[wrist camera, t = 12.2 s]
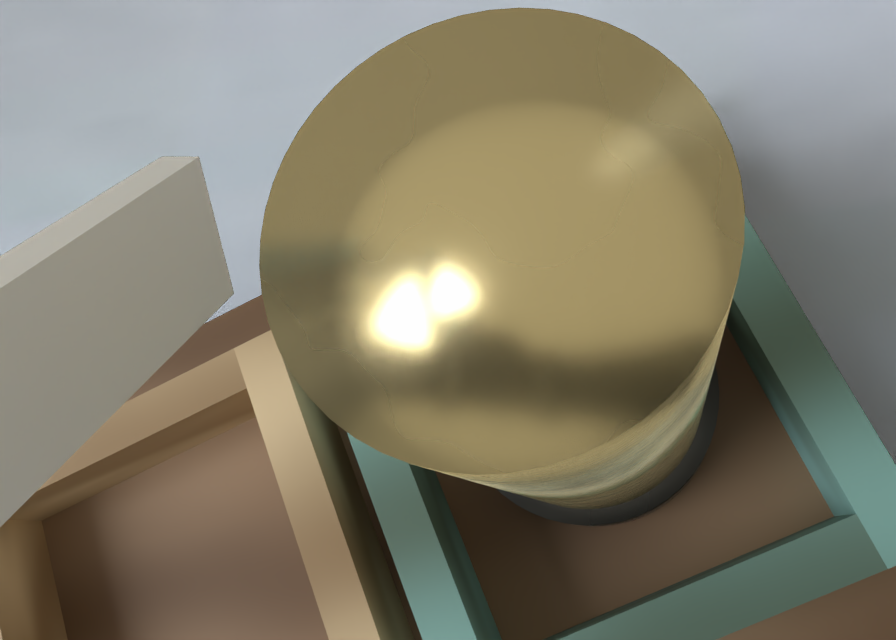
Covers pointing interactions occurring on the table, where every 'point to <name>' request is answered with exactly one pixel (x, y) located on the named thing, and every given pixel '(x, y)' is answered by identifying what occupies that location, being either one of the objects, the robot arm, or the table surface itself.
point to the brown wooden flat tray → (455, 516)
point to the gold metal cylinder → (513, 260)
